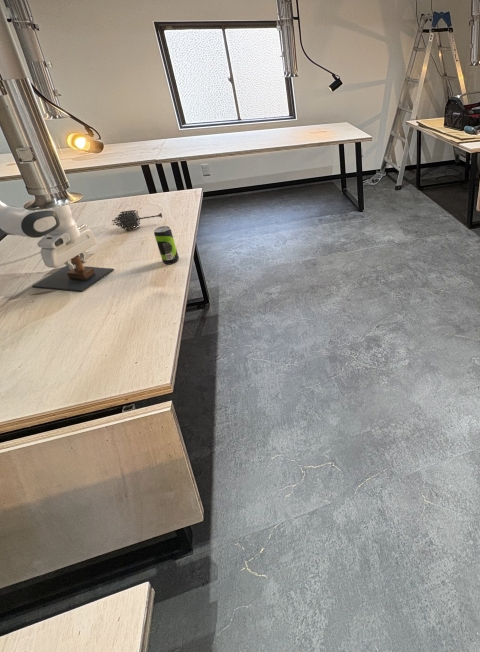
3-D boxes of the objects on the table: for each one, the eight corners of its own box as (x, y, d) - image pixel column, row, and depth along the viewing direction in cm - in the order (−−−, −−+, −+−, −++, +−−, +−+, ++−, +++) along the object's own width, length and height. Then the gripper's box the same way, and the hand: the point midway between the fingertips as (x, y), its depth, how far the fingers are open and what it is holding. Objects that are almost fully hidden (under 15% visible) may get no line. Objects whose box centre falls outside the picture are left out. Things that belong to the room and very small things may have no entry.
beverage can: (182, 258, 175) (173, 226, 168) (172, 265, 170) (163, 232, 163) (169, 257, 176) (160, 225, 170) (159, 264, 171) (149, 231, 164)
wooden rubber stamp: (69, 279, 160) (60, 259, 156) (79, 273, 164) (70, 253, 160) (86, 281, 158) (77, 260, 154) (95, 274, 162) (87, 255, 158)
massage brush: (163, 227, 205) (158, 209, 200) (113, 235, 197) (106, 217, 193) (164, 220, 212) (159, 203, 208) (116, 228, 205) (110, 210, 201)
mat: (32, 287, 157) (31, 285, 157) (68, 266, 171) (67, 264, 171) (82, 292, 153) (81, 290, 153) (114, 270, 167) (113, 268, 167)
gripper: (80, 221, 162) (92, 252, 168) (32, 245, 144) (48, 279, 151) (94, 222, 161) (105, 253, 167) (47, 246, 143) (62, 280, 149)
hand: (78, 265), depth 159 cm, fingers closed on wooden rubber stamp, 3 cm apart
